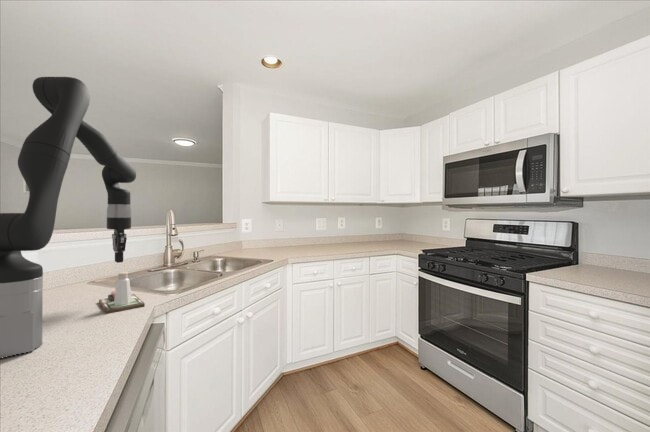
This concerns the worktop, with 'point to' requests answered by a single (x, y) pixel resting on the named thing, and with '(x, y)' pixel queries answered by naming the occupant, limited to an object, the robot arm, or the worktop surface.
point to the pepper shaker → (123, 290)
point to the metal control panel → (111, 307)
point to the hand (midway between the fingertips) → (118, 261)
